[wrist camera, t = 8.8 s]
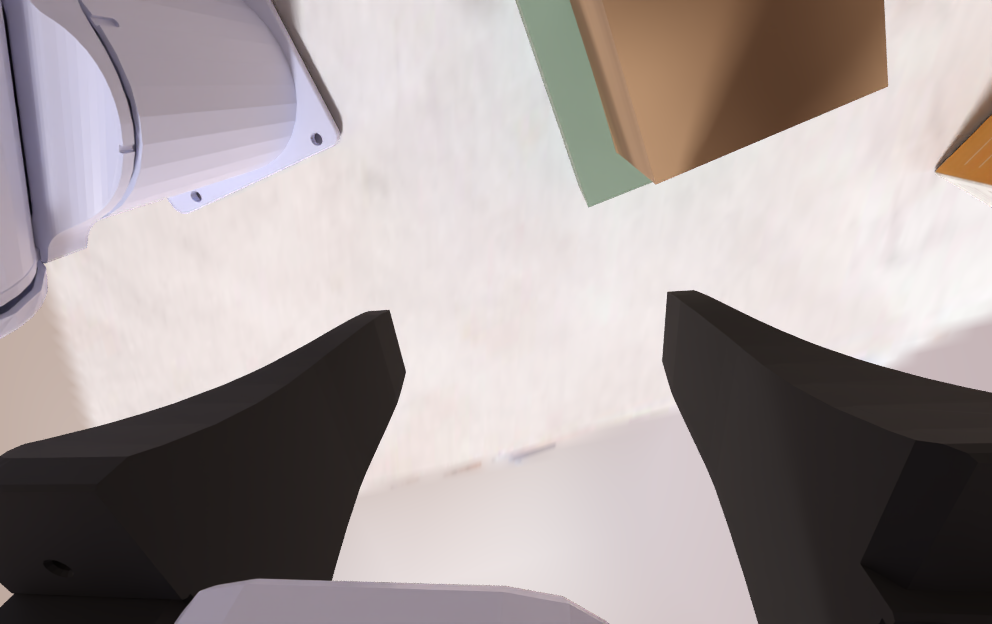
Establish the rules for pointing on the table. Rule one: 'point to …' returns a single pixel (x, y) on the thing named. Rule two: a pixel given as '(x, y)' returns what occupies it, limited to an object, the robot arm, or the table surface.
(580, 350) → the table surface
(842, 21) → the walnut cube
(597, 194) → the green block
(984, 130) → the small box
